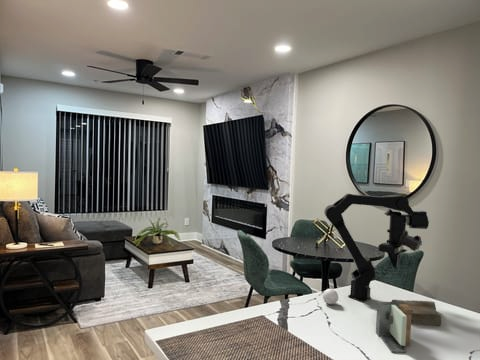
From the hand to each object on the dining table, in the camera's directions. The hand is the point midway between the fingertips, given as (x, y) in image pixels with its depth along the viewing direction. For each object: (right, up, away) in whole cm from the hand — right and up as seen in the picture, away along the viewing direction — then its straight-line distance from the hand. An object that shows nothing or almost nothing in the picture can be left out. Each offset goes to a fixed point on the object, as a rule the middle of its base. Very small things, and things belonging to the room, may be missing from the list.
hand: (395, 267), depth 138 cm
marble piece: (+2, -14, -14) cm, 20 cm away
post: (-12, -14, -33) cm, 38 cm away
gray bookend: (-14, -14, -33) cm, 39 cm away
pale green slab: (-15, -12, -34) cm, 39 cm away
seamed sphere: (-26, -13, -6) cm, 30 cm away
